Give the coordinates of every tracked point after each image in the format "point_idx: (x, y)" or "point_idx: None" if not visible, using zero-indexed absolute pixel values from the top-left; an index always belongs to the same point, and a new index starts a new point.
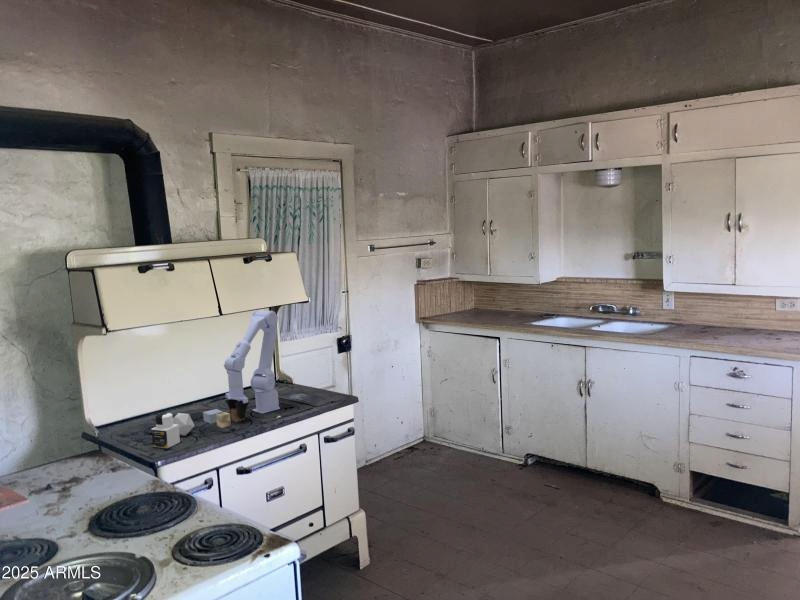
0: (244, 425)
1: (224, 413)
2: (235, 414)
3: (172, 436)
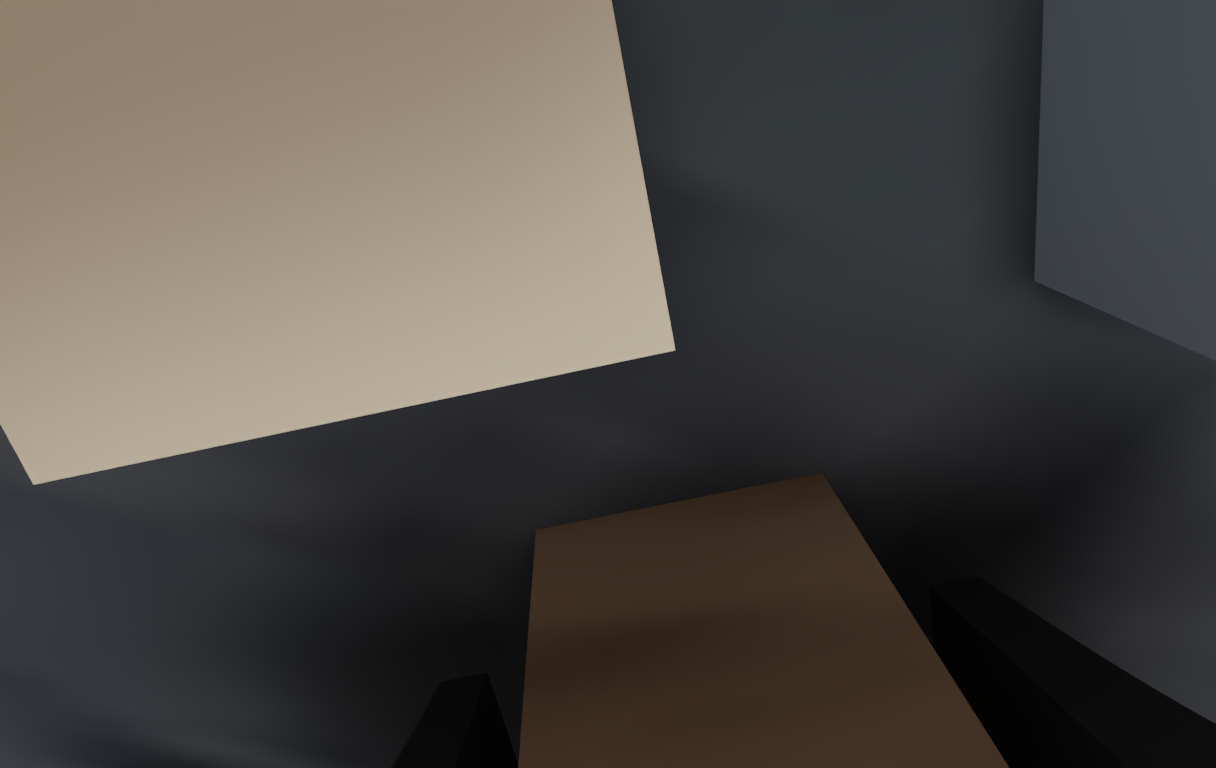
0: (71, 601)
1: (335, 225)
2: (579, 693)
3: None
